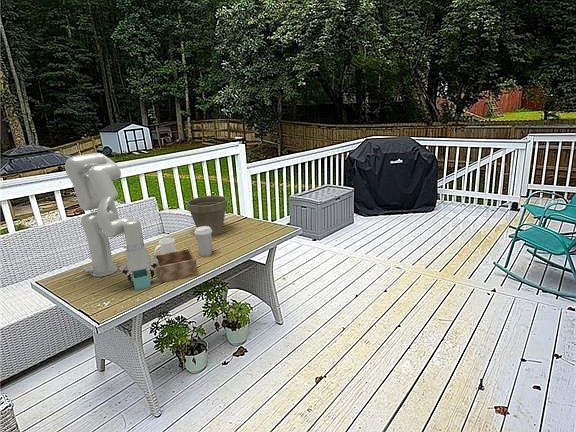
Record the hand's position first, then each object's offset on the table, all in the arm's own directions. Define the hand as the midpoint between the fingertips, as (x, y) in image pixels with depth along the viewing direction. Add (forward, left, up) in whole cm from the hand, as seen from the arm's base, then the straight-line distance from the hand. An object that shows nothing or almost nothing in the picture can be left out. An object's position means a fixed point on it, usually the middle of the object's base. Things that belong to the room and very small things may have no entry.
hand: (141, 279), depth 187 cm
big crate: (+17, +5, -3) cm, 18 cm away
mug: (+15, +25, -3) cm, 30 cm away
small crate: (0, 0, -3) cm, 3 cm away
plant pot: (+47, +55, -3) cm, 72 cm away
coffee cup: (+36, +21, -3) cm, 42 cm away
